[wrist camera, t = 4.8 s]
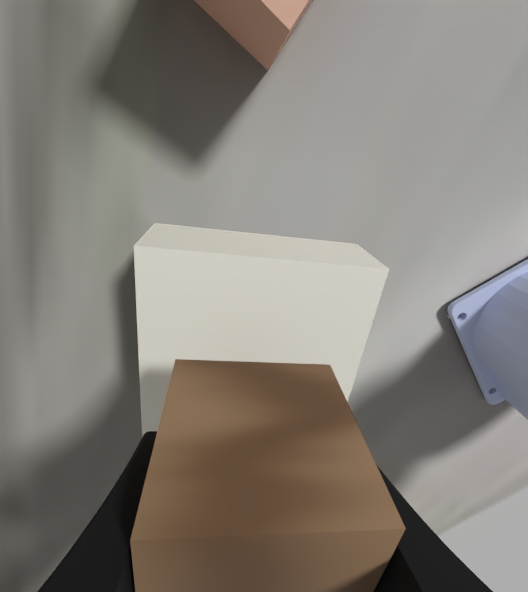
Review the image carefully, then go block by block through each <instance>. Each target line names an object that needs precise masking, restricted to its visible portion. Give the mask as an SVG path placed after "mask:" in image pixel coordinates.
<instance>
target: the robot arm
mask: <svg viewBox="0 0 528 592" xmlns="http://www.w3.org/2000/svg"><path fill="white" fill-rule="evenodd" d="M447 311H448V314H449V317H450V319H451V321H452V323H453V326H454V328H455V330H456V333H457V335H458V337H459V340H460V342H461V344H462V347H463V349H464V351H465V354H466V356H467V358H468V361H469V363H470V365H471V367H472V370H473V372H474V374H475V377H476V379H477V381H478V384H479V386H480V388H481V391H482V393H483V395H484V398H485V400H486V401H487V402H488V403H489V404H490V405H496V404H499V403H501V402H503V401H505V400H507V401H508V402H509V403H510V404H511V405H512V406H513V407H514V408H515V409H516V410H517V411H519V412H520V413H521V414H522V415H523V416H524V417H525V418H526V419H527V420H528V259H527V260H525V261H523V262H521V263H520V264H518V265H516V266H514V267H513V268H511V269H509V270H507V271H506V272H504V273H502V274H500V275H499V276H497V277H495V278H493V279H492V280H490V281H488V282H486V283H485V284H483V285H481V286H479V287H478V288H476V289H474V290H472V291H471V292H469V293H467V294H465V295H464V296H462V297H460V298H458V299H457V300H455V301H453V302H452V303H450V305H449V306H448V309H447ZM461 313H462V314H461ZM460 314H461V316H459V315H460ZM458 316H459V317H458ZM156 435H157V431H148V432H146V433H145V434H144V435H143V437H142V439H141V441H140V443H139V445H138V447H137V449H136V451H135V452H134V454H133V456H132V458H131V459H130V461H129V463H128V465H127V466H126V468H125V470H124V471H123V473H122V474H121V476H120V478H119V479H118V481H117V482H116V484H115V486H114V487H113V489H112V490H111V492H110V493H109V495H108V496H107V498H106V499H105V501H104V502H103V504H102V506H101V507H100V508H99V510H98V511H97V513H96V514H95V516H94V517H93V519H92V520H91V521H90V523H89V524H88V526H87V527H86V528H85V530H84V531H83V533H82V534H81V535H80V537H79V538H78V540H77V541H76V542H75V544H74V545H73V547H72V548H71V549H70V551H69V552H68V553H67V555H66V556H65V557H64V559H63V560H62V561H61V563H60V564H59V565H58V566H57V568H56V569H55V570H54V572H53V573H52V574H51V576H50V577H49V578H48V579H47V581H46V582H45V583H44V584H43V586H42V587H41V588H40V589H39V591H38V592H135V583H134V573H133V563H132V553H131V544H130V539H131V535H132V531H133V527H134V523H135V519H136V515H137V511H138V507H139V503H140V499H141V495H142V491H143V487H144V483H145V479H146V475H147V471H148V467H149V463H150V459H151V455H152V451H153V447H154V443H155V439H156ZM377 467H378V466H377ZM378 470H379V472H380V474H381V476H382V478H383V480H384V483H385V485H386V487H387V489H388V491H389V493H390V496H391V498H392V500H393V502H394V504H395V506H396V509H397V511H398V513H399V515H400V517H401V519H402V522H403V524H404V526H405V528H406V529H405V531H404V533H403V535H402V537H401V539H400V541H399V543H398V545H397V547H396V549H395V551H394V553H393V555H392V557H391V559H390V560H389V562H388V564H387V566H386V568H385V570H384V572H383V574H382V576H381V578H380V580H379V582H378V584H377V586H376V588H375V590H374V592H493V591H491V590H490V589H489V588H488V587H487V586H486V585H485V584H484V583H483V582H482V581H481V580H480V579H479V578H478V577H477V576H476V575H475V574H474V573H473V572H472V571H471V570H470V569H469V568H468V567H467V566H466V565H465V564H464V563H463V562H462V561H461V560H460V559H459V558H458V557H457V556H456V555H455V554H454V553H453V552H452V551H451V550H450V549H449V548H448V547H447V546H446V545H445V544H444V543H443V542H442V541H441V540H440V538H439V537H438V536H437V535H436V534H435V533H434V532H433V531H432V530H431V529H430V527H429V526H428V525H427V524H426V523H425V522H424V521H423V520H422V519H421V517H420V516H419V515H418V514H417V513H416V512H415V511H414V509H413V508H412V507H411V506H410V505H409V504H408V502H407V501H406V500H405V499H404V498H403V496H402V495H401V494H400V493H399V492H398V491H397V489H396V488H395V487H394V486H393V485H392V483H391V482H390V481H389V480H388V478H387V477H386V476H385V475H384V473H383V472H382V471H381V470H380V468H379V467H378Z"/></svg>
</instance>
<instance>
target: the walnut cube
mask: <svg viewBox="0 0 528 592" xmlns="http://www.w3.org/2000/svg"><path fill="white" fill-rule="evenodd" d="M405 529H406V528H405V526H404V524H403V522H402V519H401V517H400V515H399V513H398V511H397V509H396V506H395V504H394V502H393V500H392V498H391V496H390V493H389V491H388V489H387V487H386V485H385V483H384V480H383V478H382V476H381V474H380V472H379V470H378V467H377V465H376V463H375V461H374V459H373V457H372V454H371V452H370V450H369V448H368V446H367V444H366V441H365V439H364V437H363V435H362V433H361V431H360V428H359V426H358V424H357V422H356V420H355V418H354V415H353V413H352V411H351V409H350V407H349V405H348V402H347V400H346V398H345V396H344V394H343V392H342V389H341V387H340V385H339V383H338V381H337V379H336V376H335V374H334V372H333V370H332V368H331V366H330V365H326V364H298V363H269V362H241V361H212V360H184V359H175V363H174V367H173V371H172V375H171V379H170V383H169V387H168V391H167V395H166V399H165V403H164V407H163V411H162V415H161V419H160V423H159V427H158V431H157V435H156V439H155V443H154V447H153V451H152V455H151V459H150V463H149V467H148V471H147V475H146V479H145V483H144V487H143V491H142V495H141V499H140V503H139V507H138V511H137V515H136V519H135V523H134V527H133V531H132V535H131V539H130V544H131V553H132V563H133V573H134V583H135V592H374V590H375V588H376V586H377V584H378V582H379V580H380V578H381V576H382V574H383V572H384V570H385V568H386V566H387V564H388V562H389V560H390V559H391V557H392V555H393V553H394V551H395V549H396V547H397V545H398V543H399V541H400V539H401V537H402V535H403V533H404V531H405Z"/></svg>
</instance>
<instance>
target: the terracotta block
mask: <svg viewBox="0 0 528 592" xmlns="http://www.w3.org/2000/svg"><path fill="white" fill-rule="evenodd" d="M194 1H195V2H196V3H197V4H198V5H199V6H200V7H201V8H202V9H203V10H205V11H206V12H207V13H208V14H209V15H210V16H211V17H212V18H213V19H214V20H215V21H216V22H217V23H218V24H219V25H220V26H221V27H222V28H224V29H225V30H226V31H227V32H228V33H229V34H230V35H231V36H232V37H233V38H234V39H235V40H236V41H237V42H238V43H239V44H240V45H241V46H242V47H244V48H245V49H246V50H247V51H248V52H249V53H250V54H251V55H252V56H253V57H254V58H255V59H256V60H257V61H258V62H259V63H260V64H261V65H262V66H264V67H265V68H266V69H267V70H269V68H270V67H271V65H272V64H273V62H274V60H275V59H276V57H277V56H278V54H279V53H280V51H281V49H282V48H283V46H284V45H285V43H286V42H287V40H288V38H289V37H290V35H291V34H292V32H293V31H294V29H295V27H296V26H297V24H298V23H299V21H300V20H301V18H302V16H303V15H304V13H305V12H306V10H307V9H308V7H309V5H310V4H311V2H312V1H313V0H194Z"/></svg>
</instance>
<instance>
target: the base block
mask: <svg viewBox="0 0 528 592" xmlns="http://www.w3.org/2000/svg"><path fill="white" fill-rule="evenodd" d="M134 265H135V287H136V310H137V332H138V355H139V377H140V400H141V423H142V437H143V435H144V434H145V433H146V432H148V431H158V427H159V423H160V419H161V415H162V411H163V407H164V403H165V399H166V395H167V391H168V387H169V383H170V379H171V375H172V371H173V367H174V363H175V359H184V360H212V361H241V362H269V363H298V364H326V365H330V366H331V368H332V370H333V372H334V374H335V376H336V379H337V381H338V383H339V385H340V387H341V389H342V392H343V394H344V396H345V398H346V400H347V402H348V399H349V395H350V392H351V389H352V386H353V383H354V380H355V376H356V373H357V370H358V367H359V364H360V361H361V357H362V354H363V351H364V348H365V345H366V341H367V338H368V335H369V332H370V329H371V326H372V322H373V319H374V316H375V313H376V310H377V307H378V303H379V300H380V297H381V294H382V291H383V287H384V284H385V281H386V278H387V275H388V272H389V269H388V268H387V267H386V266H384V265H383V264H382V263H381V262H379V261H378V260H377V259H375V258H374V257H373V256H372V255H370V254H369V253H368V252H366V251H365V250H364V249H362V248H361V247H360V246H359V245H357V244H352V243H342V242H333V241H323V240H313V239H303V238H294V237H284V236H274V235H265V234H255V233H245V232H236V231H226V230H216V229H207V228H197V227H187V226H178V225H168V224H158V223H154V224H153V225H152V226H151V228H150V229H149V230H148V231H147V232H146V233H145V234H144V235H143V236H142V237H141V238H140V239H139V240H138V242H137V243H136V244H135V245H134Z"/></svg>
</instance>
